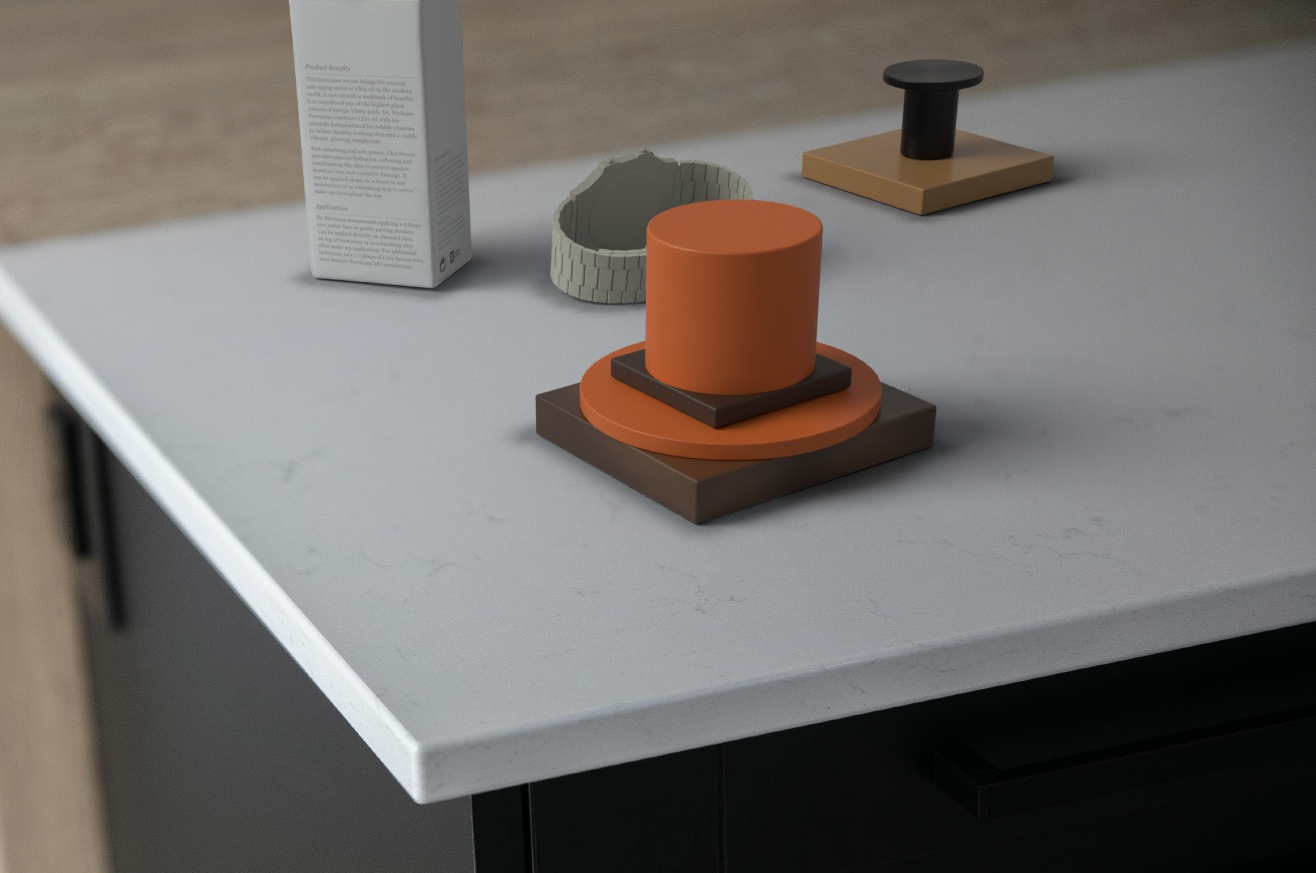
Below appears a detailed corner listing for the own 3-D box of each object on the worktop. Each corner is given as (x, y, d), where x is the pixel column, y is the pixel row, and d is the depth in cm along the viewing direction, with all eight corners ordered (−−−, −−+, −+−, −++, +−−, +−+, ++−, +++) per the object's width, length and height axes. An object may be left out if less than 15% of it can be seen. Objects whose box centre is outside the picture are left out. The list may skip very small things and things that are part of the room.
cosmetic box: (474, 260, 85) (465, -25, 79) (434, 292, 82) (422, -3, 76) (350, 248, 88) (332, -29, 82) (306, 279, 84) (284, -8, 78)
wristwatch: (697, 237, 86) (700, 124, 83) (788, 275, 81) (794, 155, 78) (519, 279, 82) (517, 162, 80) (602, 322, 77) (603, 198, 75)
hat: (749, 326, 72) (755, 162, 69) (945, 410, 64) (962, 229, 61) (522, 390, 68) (519, 219, 65) (703, 488, 60) (708, 299, 57)
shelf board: (759, 367, 72) (761, 329, 72) (934, 446, 65) (938, 405, 65) (534, 434, 68) (534, 394, 68) (695, 525, 61) (697, 482, 61)
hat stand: (927, 145, 96) (936, 42, 93) (1052, 181, 90) (1065, 71, 87) (800, 177, 93) (806, 70, 90) (921, 216, 86) (930, 102, 84)
